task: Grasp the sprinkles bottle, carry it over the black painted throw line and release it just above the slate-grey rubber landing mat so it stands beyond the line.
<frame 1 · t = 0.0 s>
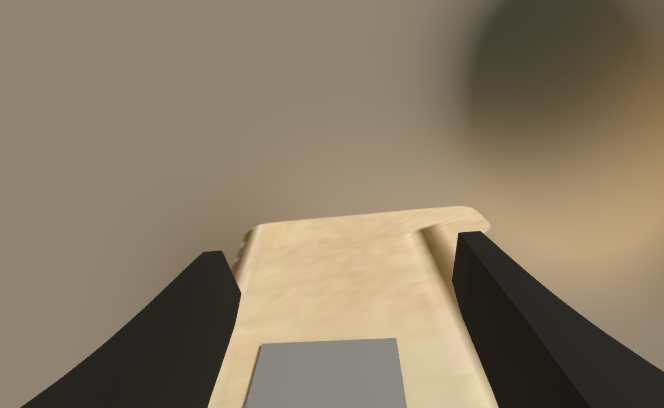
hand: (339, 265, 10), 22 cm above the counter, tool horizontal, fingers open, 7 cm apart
landing mat: (325, 393, 27), on the counter
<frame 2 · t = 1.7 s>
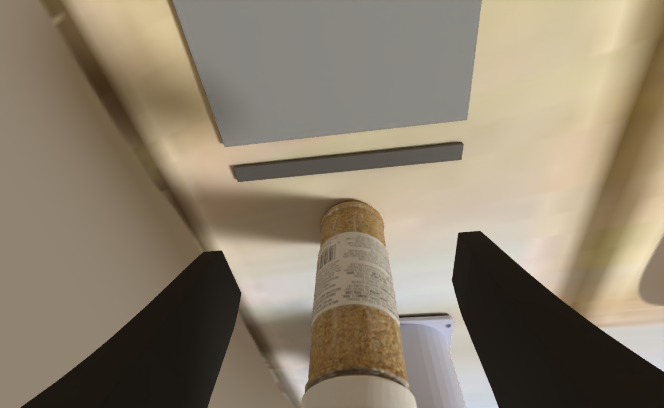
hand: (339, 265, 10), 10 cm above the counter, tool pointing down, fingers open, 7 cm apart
landing mat: (329, 35, 15), on the counter
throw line: (344, 161, 19), on the counter
sprinkles bottle: (352, 222, 22), on the counter
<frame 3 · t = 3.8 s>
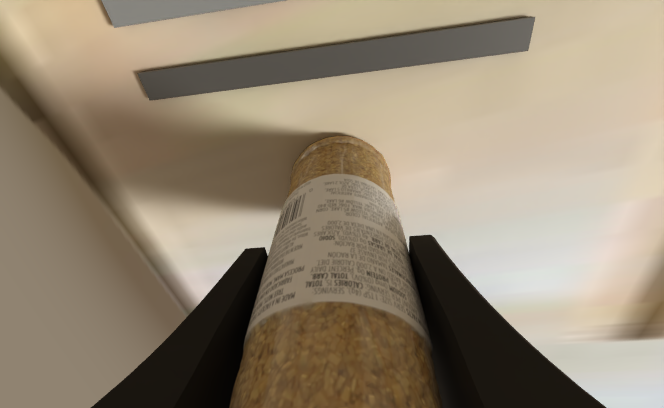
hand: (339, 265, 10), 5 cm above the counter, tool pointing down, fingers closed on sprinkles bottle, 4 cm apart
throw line: (325, 61, 11), on the counter
sprinkles bottle: (340, 176, 14), on the counter, touching gripper
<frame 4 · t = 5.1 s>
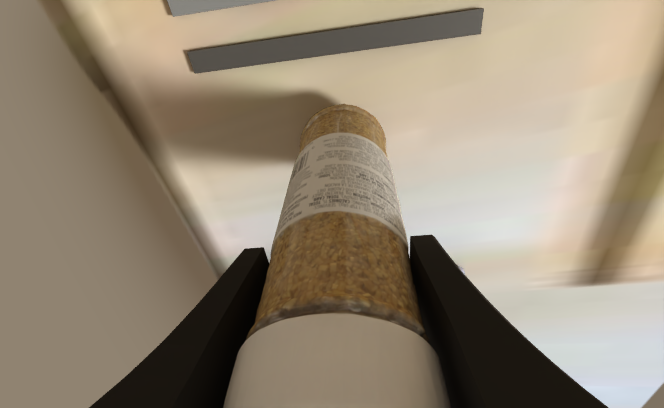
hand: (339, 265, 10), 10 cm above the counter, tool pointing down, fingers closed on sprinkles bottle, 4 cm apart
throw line: (329, 42, 15), on the counter
sprinkles bottle: (343, 141, 16), point 1 cm above the counter, touching gripper
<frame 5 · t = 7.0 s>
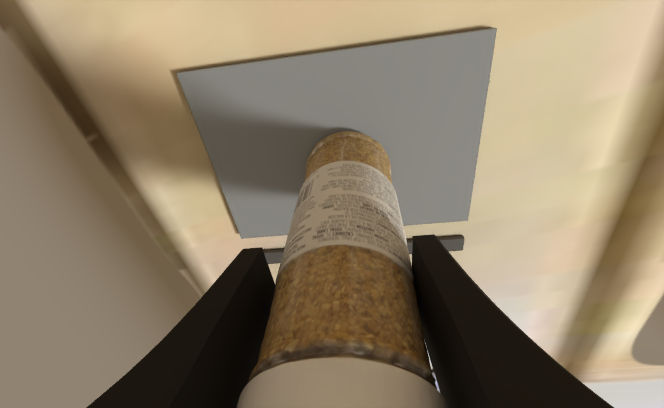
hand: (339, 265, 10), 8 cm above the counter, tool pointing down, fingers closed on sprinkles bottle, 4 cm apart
landing mat: (341, 153, 16), on the counter
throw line: (353, 249, 20), on the counter
sprinkles bottle: (348, 166, 17), resting on landing mat, touching gripper
when the fingers open (7 cm above the counter, at t = 7.7 s): sprinkles bottle stays where it is, resting on landing mat.
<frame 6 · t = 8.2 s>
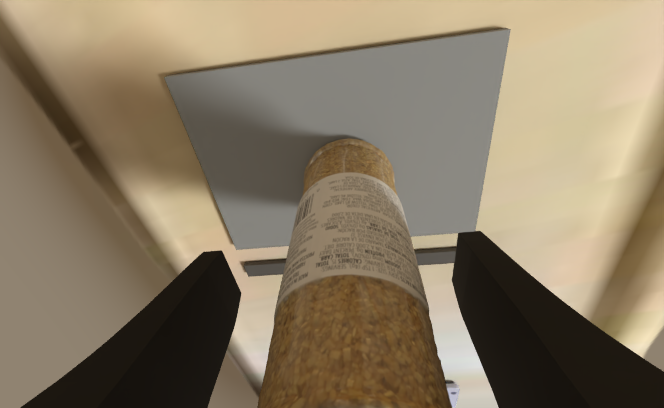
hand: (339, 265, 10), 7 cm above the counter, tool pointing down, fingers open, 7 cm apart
landing mat: (341, 161, 15), on the counter
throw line: (353, 260, 19), on the counter
sprinkles bottle: (348, 174, 16), resting on landing mat
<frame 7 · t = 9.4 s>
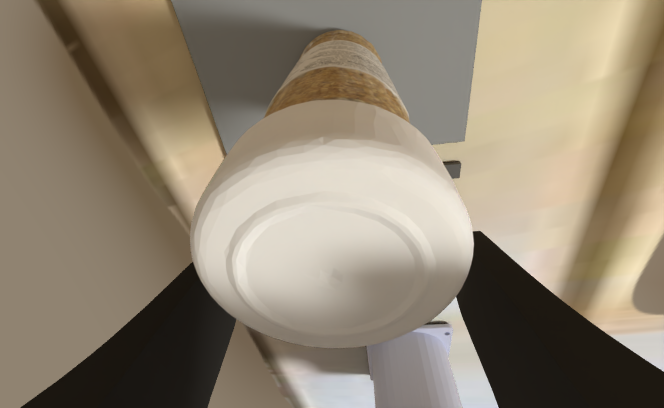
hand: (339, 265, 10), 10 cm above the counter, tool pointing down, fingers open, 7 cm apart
landing mat: (332, 62, 16), on the counter
sprinkles bottle: (339, 76, 16), resting on landing mat
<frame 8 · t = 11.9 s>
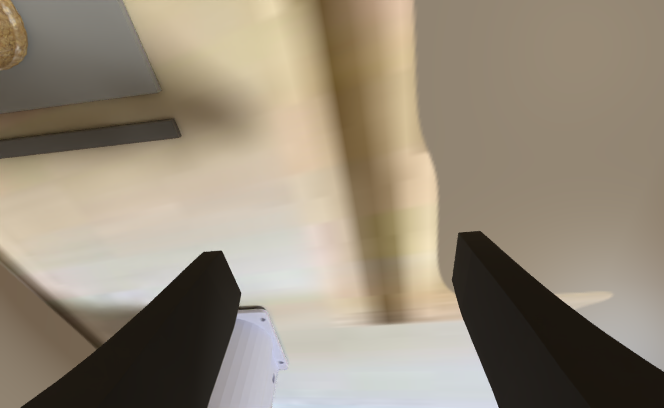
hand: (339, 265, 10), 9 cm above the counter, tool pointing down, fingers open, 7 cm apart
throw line: (64, 140, 18), on the counter
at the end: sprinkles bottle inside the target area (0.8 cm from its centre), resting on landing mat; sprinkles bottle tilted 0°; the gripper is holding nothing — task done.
